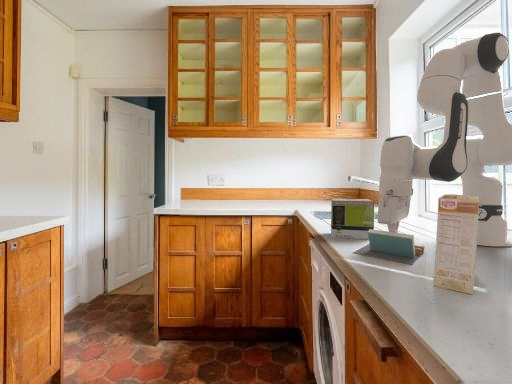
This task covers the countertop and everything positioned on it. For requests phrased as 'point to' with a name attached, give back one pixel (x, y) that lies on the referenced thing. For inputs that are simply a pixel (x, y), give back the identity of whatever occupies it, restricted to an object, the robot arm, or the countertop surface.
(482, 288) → the countertop surface
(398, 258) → the mat
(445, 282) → the coffeecake box
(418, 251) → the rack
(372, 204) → the tea box
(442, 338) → the countertop surface
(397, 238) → the tile
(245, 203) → the countertop surface
